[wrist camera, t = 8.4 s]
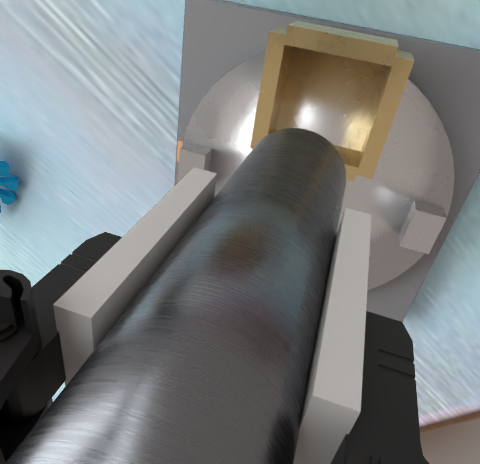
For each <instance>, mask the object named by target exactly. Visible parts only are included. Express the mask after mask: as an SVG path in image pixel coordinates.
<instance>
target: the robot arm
mask: <svg viewBox="0 0 480 464" xmlns="http://www.w3.org/2000/svg"><path fill="white" fill-rule="evenodd" d="M216 179H217V173H213V172H210V171H206V170H202V169H198V168H195V167H194V168H193V169H192V170H191V171H190V172H189V173H188V174H187V175H186V176H185V177H184V178H183V179H182V180H181V181H179V182H178V183H177V184H176V185H175V186H174V187H173V188H172V189H171V190H170V191H169V192H168V193H167V194H166V195H165V196H164V197H163V198H162V199H161V200H160V201H159V202H158V203H157V204H156V205H155V206H154V207H153V208H152V209H151V210H150V211H149V212H148V213H147V214H146V215H145V216H144V217H143V218H142V219H141V220H139V221H138V222H137V223H136V224H135V225H134V226H133V227H132V228H131V229H130V230H129V231H128V232H127V233H126V234H125V235H124V236H123V237H120V236H116V235H113V234H110V233H107V232H104V233H102V234H99V235H97V236H95V237H92V238H90V239H88V240H86V241H85V242H84V243H82V244H81V245H80V246H79V247H78V248H77V249H75V250H74V251H73V253H72V255H69V256H67V257H66V258H65V259H64V260H63V261H62V262H61V264H60V265H59V264H58V265H57V266H56V267H55V268H54V269H52V270H51V271H50V272H49V273H48V274H47V275H45V276H44V277H43V278H42V279H41V280H40V281H39V282H37V283H36V284H35V285H34V286H33V287H32V288H31V283H30V281H29V280H28V279H27V278H26V277H25V276H24V275H23V274H20V273H18V272H15V271H12V270H0V464H5V463H6V462H7V460H8V459H9V458H10V457H11V455H12V454H13V453H14V451H15V450H16V449H17V448H18V446H19V445H20V444H21V443H22V441H23V440H24V439H25V437H26V436H27V435H28V434H29V432H30V431H31V430H32V429H33V427H34V426H35V425H36V424H37V422H38V421H39V420H40V418H41V417H42V416H43V415H44V413H45V412H46V411H47V410H48V408H49V407H50V406H51V404H52V403H53V401H52V396H53V395H54V394H55V393H56V391H57V390H58V389H59V388H60V386H61V385H62V384H63V383H64V381H65V386H66V385H67V384H68V383H69V382H70V380H71V379H72V378H73V377H74V375H75V374H76V373H77V371H78V370H79V369H80V368H81V366H82V365H83V364H84V363H85V361H86V360H87V359H88V358H89V356H90V355H91V354H92V352H93V351H94V350H95V349H96V347H97V346H98V345H99V344H100V342H101V341H102V340H103V338H104V337H105V336H106V335H107V333H108V332H109V331H110V330H111V328H112V327H113V326H114V324H115V323H116V322H117V321H118V319H119V318H120V317H121V316H122V314H123V313H124V312H125V311H126V309H127V308H128V307H129V305H130V304H131V303H132V302H133V300H134V299H135V298H136V297H137V295H138V294H139V293H140V291H141V290H142V289H143V288H144V286H145V285H146V284H147V283H148V281H149V280H150V279H151V278H152V276H153V275H154V274H155V272H156V271H157V270H158V269H159V267H160V266H161V265H162V264H163V262H164V261H165V260H166V258H167V257H168V256H169V255H170V253H171V252H172V251H173V250H174V248H175V247H176V246H177V245H178V243H179V242H180V241H181V239H182V238H183V237H184V236H185V234H186V233H187V232H188V231H189V229H190V228H191V227H192V225H193V224H194V223H195V222H196V220H197V219H198V218H199V217H200V215H201V214H202V213H203V211H204V210H205V209H206V208H207V206H208V205H209V204H210V203H211V201H212V200H213V199H214V195H215V187H216ZM370 233H371V214H367V213H363V212H359V211H356V210H352V209H348V208H345V210H344V213H343V216H342V219H341V222H340V225H339V228H338V231H337V234H336V238H335V243H334V248H333V253H332V259H331V264H330V269H329V274H328V280H327V285H326V290H325V295H324V301H323V306H322V311H321V316H320V321H319V327H318V332H317V337H316V342H315V348H314V353H313V358H312V363H311V369H310V374H309V379H308V384H307V390H306V395H305V400H304V405H303V411H302V416H301V421H300V426H299V435H298V441H297V447H296V452H295V457H294V463H293V464H429V463H428V462H427V461H426V459H425V458H424V456H423V453H422V448H421V443H420V431H419V418H418V405H417V393H416V380H414V379H415V367H414V364H413V361H414V354H413V341H412V339H411V337H410V336H409V334H408V332H407V330H406V328H405V326H404V325H403V323H402V322H401V321H398V320H394V319H391V318H388V317H385V316H381V315H378V314H375V313H372V312H368V311H366V305H367V287H368V269H369V251H370Z"/></svg>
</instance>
